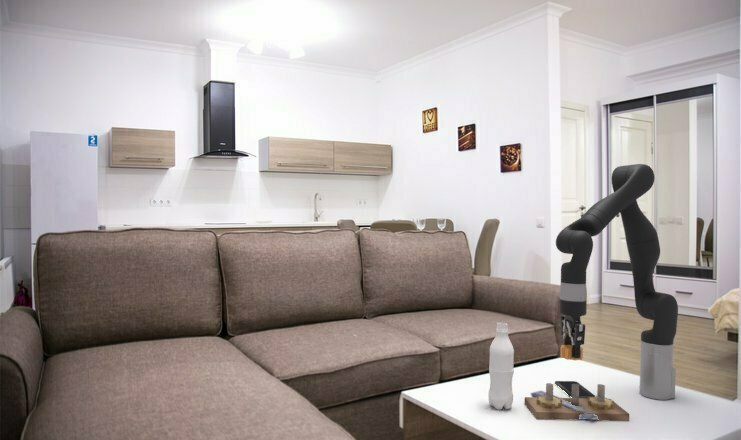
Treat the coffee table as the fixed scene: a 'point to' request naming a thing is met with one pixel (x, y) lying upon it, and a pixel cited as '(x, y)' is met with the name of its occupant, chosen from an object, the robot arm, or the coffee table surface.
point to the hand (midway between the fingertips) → (571, 354)
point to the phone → (568, 388)
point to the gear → (569, 352)
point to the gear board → (574, 413)
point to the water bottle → (501, 369)
